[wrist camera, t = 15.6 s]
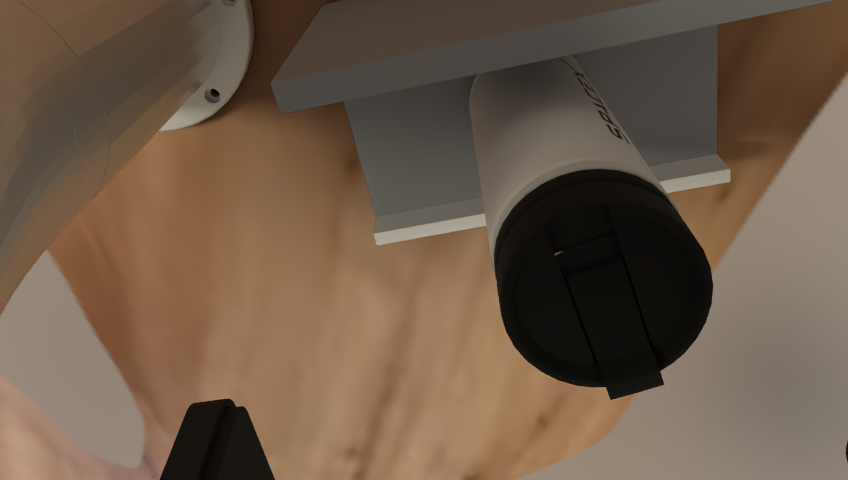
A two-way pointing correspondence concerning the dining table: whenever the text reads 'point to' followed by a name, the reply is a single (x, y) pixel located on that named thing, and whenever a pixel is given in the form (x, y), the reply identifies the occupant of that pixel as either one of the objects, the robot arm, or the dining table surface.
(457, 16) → the grey bookend
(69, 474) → the dining table surface
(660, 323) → the travel mug
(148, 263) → the dining table surface
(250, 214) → the dining table surface
